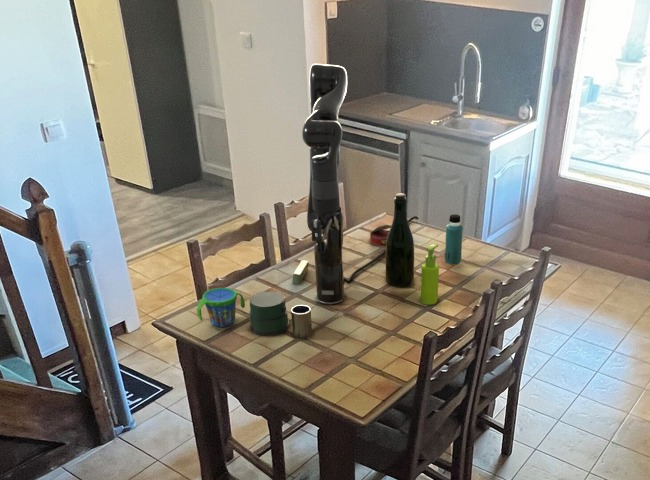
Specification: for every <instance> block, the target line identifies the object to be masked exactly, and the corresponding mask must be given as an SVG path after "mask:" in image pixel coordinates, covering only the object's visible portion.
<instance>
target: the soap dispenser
mask: <svg viewBox="0 0 650 480" xmlns="http://www.w3.org/2000/svg"><path fill="white" fill-rule="evenodd" d="M438 247H439V244H435V243H431V244H430V245H429V246H428V247H427V248H426V251H427V255H426V256H425V261H424V262H425V263H423V264H421V274H420V275H421V277H420V302H421V303H422V304H424V305H427V306H428V305H435V304H438V295H439V276H440V266H439V264H437V263H436V260H437V259H436V258H437V257H436V255H434V250H435V249H436V248H438Z"/></svg>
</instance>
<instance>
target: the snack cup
mask: <svg viewBox="0 0 650 480" xmlns="http://www.w3.org/2000/svg"><path fill="white" fill-rule="evenodd" d="M238 296H239V297H240V303H239V304H240V307H241V308H243V309H244V308H245V307H246V302H245V298H244V296H243V295H242V294H241V293H240V292H238V291H236V290H234V289H231V288H229V287H216V288H212V289H209V290H206V291H205V292H204V293H203V294H202V298H201V299H200V301H199V302H198V303H197V307H196V313H197V317H198V319H199V320H200V321H204V320H203V316H202V307H203V306H204V305H205V308H206V311H207V314H208V317H209V321H210V323H211V325H212V326H213V327H217V328H227V327H230V326H231V325H234V324H235V321H236V306H237V305H236V303H237V299H238Z"/></svg>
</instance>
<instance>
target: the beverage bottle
mask: <svg viewBox="0 0 650 480" xmlns="http://www.w3.org/2000/svg"><path fill="white" fill-rule="evenodd" d="M448 222H449V223H448V224H447V225H446V226H445V228H446V229H445V245H444V246H445V248H444V262H445V263H446V264H448V265H459V264H460V263H461V262H462V259H463V258H462V250H463V248H462V247H463V229H464V227H463V225H462V224H461V215H460V214H457V213H452V214H450V215H449V219H448Z"/></svg>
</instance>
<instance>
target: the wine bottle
mask: <svg viewBox="0 0 650 480" xmlns="http://www.w3.org/2000/svg"><path fill="white" fill-rule="evenodd" d="M407 204H408V199H407V197H406V194H405V193H401V192H400V193H396V194H395V197H394V199H393V205H394V207H393V208H394V209H393V218H392V223H391V225H390V226H391V228H389V230H388V231H389V233H388V236H387V240H386V246H385V250H386V253H385V266H384V267H385V269H384V271H385V278H384V279H385V282H386V284H387V285H389V286H390V287H394V288H406V287H409V286H411V285H413V283H414V281H415V240H414V235H413V232H412V230H411V227H410V225H409V223H408V220H409V219H408V212H407Z"/></svg>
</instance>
